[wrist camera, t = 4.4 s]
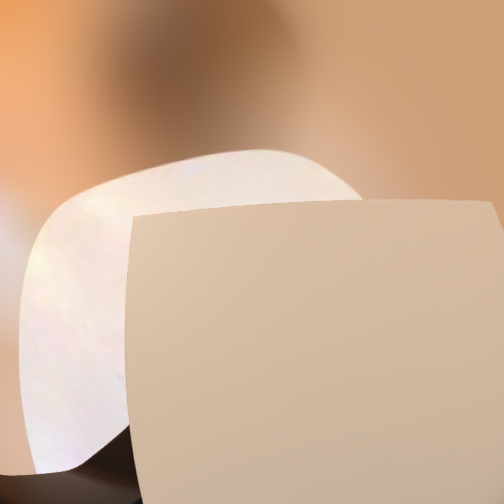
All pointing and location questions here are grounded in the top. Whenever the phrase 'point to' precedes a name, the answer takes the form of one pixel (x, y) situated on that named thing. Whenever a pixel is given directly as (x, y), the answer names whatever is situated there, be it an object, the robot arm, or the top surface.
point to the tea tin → (318, 353)
